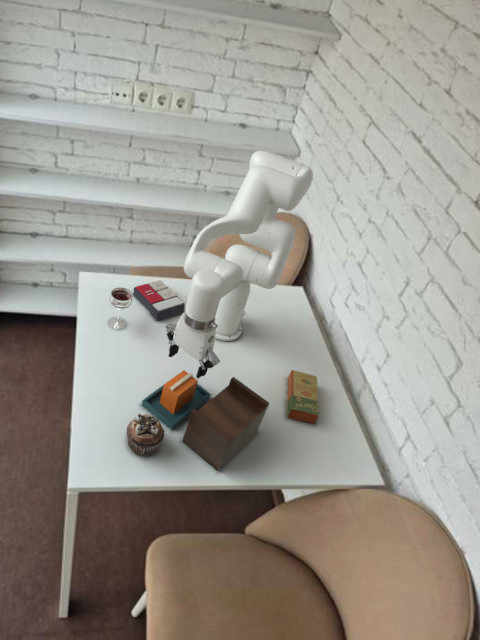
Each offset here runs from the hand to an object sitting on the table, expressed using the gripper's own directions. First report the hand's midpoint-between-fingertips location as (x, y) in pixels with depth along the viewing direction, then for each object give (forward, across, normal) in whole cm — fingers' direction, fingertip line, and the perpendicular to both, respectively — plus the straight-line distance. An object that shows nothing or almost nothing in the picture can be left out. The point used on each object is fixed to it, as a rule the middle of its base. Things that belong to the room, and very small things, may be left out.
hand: (186, 364), depth 141 cm
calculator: (+15, +32, -27) cm, 45 cm away
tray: (+14, 0, +1) cm, 14 cm away
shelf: (+14, -16, +1) cm, 22 cm away
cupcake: (+14, -4, +18) cm, 23 cm away
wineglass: (+15, +33, -9) cm, 37 cm away
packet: (+14, 0, +1) cm, 14 cm away
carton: (+15, -25, -28) cm, 40 cm away
